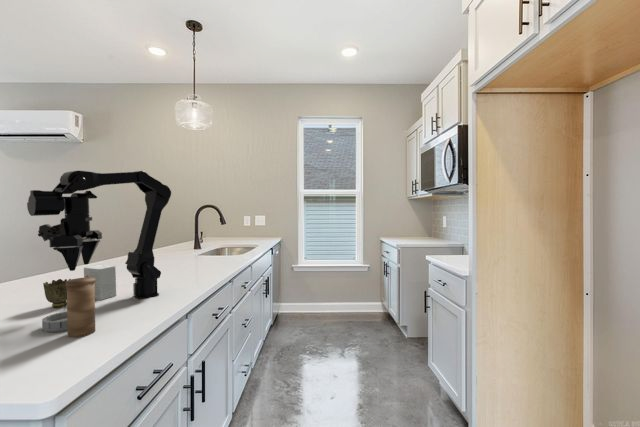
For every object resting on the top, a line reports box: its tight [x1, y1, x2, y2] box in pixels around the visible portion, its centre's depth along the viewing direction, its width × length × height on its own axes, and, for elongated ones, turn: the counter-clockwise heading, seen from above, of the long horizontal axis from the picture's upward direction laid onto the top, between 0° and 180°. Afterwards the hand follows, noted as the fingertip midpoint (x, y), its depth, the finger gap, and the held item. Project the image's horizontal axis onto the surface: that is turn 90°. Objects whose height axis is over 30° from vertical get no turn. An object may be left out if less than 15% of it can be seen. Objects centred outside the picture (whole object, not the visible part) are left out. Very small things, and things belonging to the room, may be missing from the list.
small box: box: [83, 264, 117, 301], centre depth 107 cm, size 8×6×10 cm
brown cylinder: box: [66, 277, 96, 339], centre depth 76 cm, size 6×6×13 cm
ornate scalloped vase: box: [43, 278, 72, 309], centre depth 96 cm, size 8×7×8 cm
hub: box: [41, 310, 68, 333], centre depth 81 cm, size 9×9×2 cm
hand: (79, 267), depth 91 cm, fingers open, 9 cm apart
